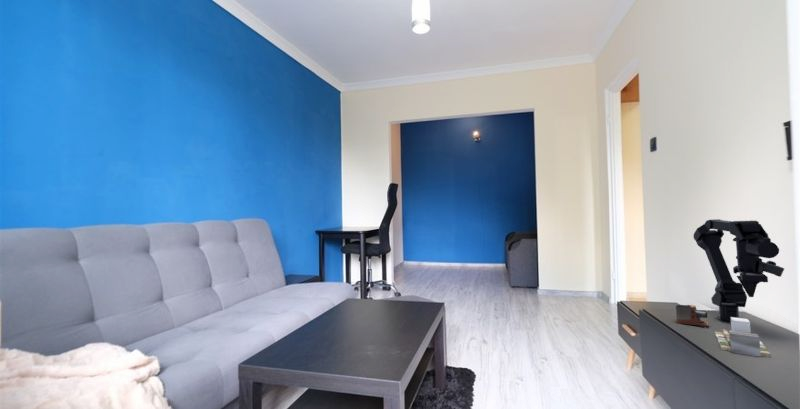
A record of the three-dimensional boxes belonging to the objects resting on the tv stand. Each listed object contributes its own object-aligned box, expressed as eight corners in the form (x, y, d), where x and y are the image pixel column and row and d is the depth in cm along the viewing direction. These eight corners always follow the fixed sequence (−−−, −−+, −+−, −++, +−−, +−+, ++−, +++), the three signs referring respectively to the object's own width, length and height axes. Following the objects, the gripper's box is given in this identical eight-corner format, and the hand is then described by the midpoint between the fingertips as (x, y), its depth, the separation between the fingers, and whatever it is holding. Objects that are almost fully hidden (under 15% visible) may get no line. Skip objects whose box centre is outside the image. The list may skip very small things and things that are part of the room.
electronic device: (708, 328, 127) (707, 309, 128) (676, 323, 134) (674, 305, 135) (709, 325, 131) (707, 306, 131) (677, 321, 137) (676, 302, 138)
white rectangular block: (717, 338, 115) (715, 315, 115) (748, 343, 110) (747, 318, 111) (718, 342, 112) (717, 318, 112) (751, 347, 107) (749, 322, 107)
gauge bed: (714, 334, 122) (713, 317, 122) (758, 340, 115) (756, 322, 115) (722, 350, 108) (720, 332, 108) (771, 358, 102) (770, 338, 102)
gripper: (788, 258, 110) (792, 306, 110) (773, 252, 125) (776, 293, 125) (741, 257, 117) (744, 301, 117) (731, 251, 132) (734, 290, 131)
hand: (751, 296), depth 122 cm, fingers closed
